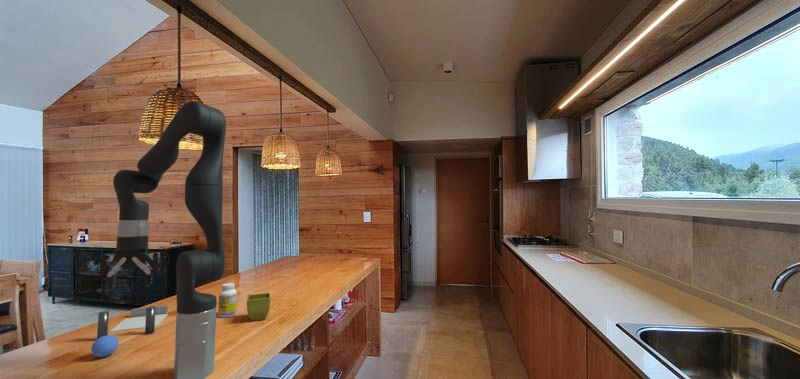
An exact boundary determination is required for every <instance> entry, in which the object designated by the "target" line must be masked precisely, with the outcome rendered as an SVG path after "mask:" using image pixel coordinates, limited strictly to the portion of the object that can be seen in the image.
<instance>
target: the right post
mask: <svg viewBox="0 0 800 379" xmlns="http://www.w3.org/2000/svg"><path fill="white" fill-rule="evenodd" d="M146 307H147V306H146ZM146 307H145V308H146ZM155 307H156V306H153V305H151V306H148V307H147V308H146V324H145V328H144V329H145V330H144V335H147V336H148V335H152V334H154V333H155V327H156V326H155Z"/></svg>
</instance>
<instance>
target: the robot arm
mask: <svg viewBox="0 0 800 379" xmlns="http://www.w3.org/2000/svg"><path fill="white" fill-rule="evenodd" d="M226 132H227V120H226V116H225V114H224V112H223V111H222V110H220V109H218V108H215V107H213V106H210V105H208V104H205V103H202V102H199V101H195V100H190V101H186V102H185V103H184V104H183V105H181V107H180V108H179V109H178V110H177V111H176V113H175V114H174V116H173V117H172V119H171V120H170V121H169V123H168V125H166V128H165V129H164V131H163V133H162V134H161V136H160V137H159V139H158V141H156V143H155V144H154V145H153V146H152V147H151V148H150V150H148V151H147V152H146V153H145V154H144V155H143V156H142V157H141V158H140V159H139V161H138V162H137V165H136V168H137V170H133V169H120V170H119V171H118V172H116V173H115V175H114V177H113V180H112V184H113V188H114V192H115V195H116V198H117V203H118V206H119V213H118V214H119V216H118V223H117V230H116V231H117V232H116V242H115V244H116V246H115V251H116V252H115V254H111V253H106V254H103V255H102V256H101V261H100V269H99V275H100V276H105V277H107V285H106V286H107V288H109V290H115V289H116V287H117V274H118V273H119V272H120V271H121V270H122V269H129V268H132V269H134V268H135V269H136V268H140V270H142V271H143V272H144V273H145V275H144V287H145V288H148V287H150V285H152V284H153V278H154V274H155V273H157V272H159V271H161V252H160V251H157V252H150V253H149V236H150V224H149V219H150V218H149V217H150V216H149V214H150V204H149V202H147V201H144V200H139V199H137V198H136V196H135V194H149V193H151V192H153V191H155V190H156V189H157V188H158V186H159V184H160V181H161V179H162V178H163V175H164V174H165V173H167V171H168V170H169V169H170V168H172V166H173V165H175V164H176V162H177V160H178V159H179V154H180V142H181V141H182V140H183V139H184V138H185V137H186V136H187V135H189V134H192V135H195V136H199V137H202V142H203V143H202V151H201V155H200V157H199V159H198V160H197V162H196V163H195V164H194V165H193V167H192V168H191V170H190V171H189V173H188V174H187V176H186V178H185V181H184V182H185V183H184V202H185V206H186V209H187V210H188V212H189V213H190V215H191V216H192V217H193V219H194V220H195V221H196V223H197V224H198V226H200V228H201V229H202V232H203V234H204V237H205V240H206V249H196V250H186V251H183V252H181V253H180V254H179V256H178V257H177V259H176V260H177V261H176V266H175V268H176V270H175V272H176V316H175V317H176V320H175V339H174V357H173V358H174V359H173V361H174V362H173V364H174V365H173V379H206V377H207V376H209V375H210V374H212V373H213V372H214V369H215V359H216V358H215V355H216V326H217V306H218V305H217V303H218V300H217V299H218V298H217V296H216V295H214V294H211V293H207V292H206V293H205V292H199V291H197V290H196V288H195V286H196V285H200V284H206V283H212V282H216V281H217V282H218V281H219V280H221V279H222V277H223V276H224V272H225V265H226V261H225V245H224V234H223V203H224V202H223V199H224V196H223V194H224V192H223V191H224V190H223V189H224V188H223V186H224V184H223V181H224V180H223V166H224V164H223V163H224V150H225V141H226V135H227V134H226ZM149 258H150V260H151V261H152V267H151V265H150V264H149V262H148V261H147V260H148V259H149ZM113 260H114V261H116V264H115V265H114V266H113V267H112V269H111V270H110V264H111V262H112V261H113Z"/></svg>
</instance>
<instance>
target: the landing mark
mask: <svg viewBox="0 0 800 379" xmlns="http://www.w3.org/2000/svg"><path fill="white" fill-rule="evenodd" d="M168 315H169V314H168V313H166V314H157V315H155V327H158V326H159V325H160V324H161V323H162V322H163V321H164V320H165V318H167V316H168ZM145 324H146V316H139V317H126V318H125V319H123V320H122V321H121V322H120V323H118V324H117V325H116V326H115V327H114V328H112V329H111V330H109V332H110V333H111V332H120V331H128V330H135V329H136V330H137V329H145Z"/></svg>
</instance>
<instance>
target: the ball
mask: <svg viewBox="0 0 800 379" xmlns="http://www.w3.org/2000/svg"><path fill="white" fill-rule="evenodd" d="M118 347H119V339H118V338H117V337H116V336H115V335H111V334H108V335H106V336H102V337H100V338H99V339H97V338H96V339H95V340H94V342H93V343H92V346H91V350H90V351H91V354H93V355H94V356H95V357H98V358H105V357H108V356H111V355H112V354H113V353H114V352H116V350H117V349H118Z"/></svg>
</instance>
